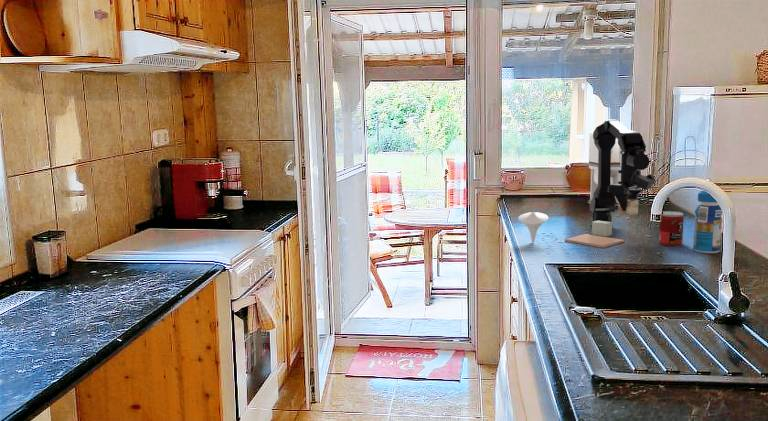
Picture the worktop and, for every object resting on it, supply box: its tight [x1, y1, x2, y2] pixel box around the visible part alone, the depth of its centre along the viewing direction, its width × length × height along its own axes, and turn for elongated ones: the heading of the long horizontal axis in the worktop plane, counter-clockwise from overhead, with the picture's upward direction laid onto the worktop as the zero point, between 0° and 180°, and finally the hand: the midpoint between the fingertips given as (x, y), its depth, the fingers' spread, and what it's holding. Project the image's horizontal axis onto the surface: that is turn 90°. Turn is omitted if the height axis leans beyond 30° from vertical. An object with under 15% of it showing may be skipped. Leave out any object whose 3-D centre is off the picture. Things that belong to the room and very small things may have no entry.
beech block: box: [617, 199, 639, 216], centre depth 241 cm, size 5×5×5 cm
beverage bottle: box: [692, 190, 723, 254], centre depth 221 cm, size 8×8×20 cm
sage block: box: [591, 220, 613, 237], centre depth 253 cm, size 6×4×5 cm, turn 40°
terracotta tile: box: [564, 233, 625, 249], centre depth 242 cm, size 16×13×1 cm
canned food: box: [658, 210, 685, 247], centre depth 234 cm, size 8×8×11 cm
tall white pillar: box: [587, 131, 622, 208], centre depth 317 cm, size 11×11×35 cm
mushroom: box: [517, 210, 549, 244], centre depth 242 cm, size 10×11×12 cm
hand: (628, 210), depth 242 cm, fingers closed on beech block, 5 cm apart
